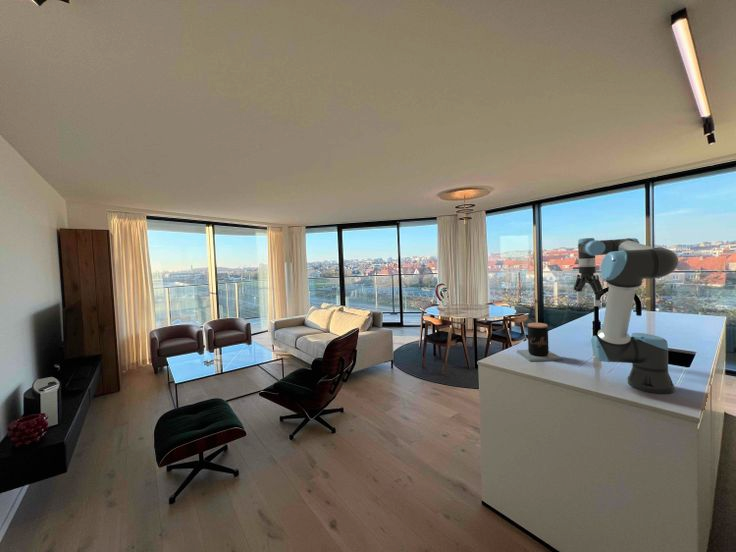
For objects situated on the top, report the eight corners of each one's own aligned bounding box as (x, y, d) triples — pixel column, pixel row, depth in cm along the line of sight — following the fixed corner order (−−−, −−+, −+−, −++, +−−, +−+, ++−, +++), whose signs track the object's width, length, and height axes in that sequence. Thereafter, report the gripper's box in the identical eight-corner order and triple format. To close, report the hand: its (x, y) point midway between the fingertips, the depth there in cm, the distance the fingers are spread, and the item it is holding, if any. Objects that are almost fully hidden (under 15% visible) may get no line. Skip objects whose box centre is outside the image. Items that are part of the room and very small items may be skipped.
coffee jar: (528, 355, 179) (527, 326, 179) (528, 350, 189) (527, 322, 188) (549, 357, 174) (548, 326, 174) (548, 352, 184) (547, 323, 183)
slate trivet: (562, 360, 172) (562, 358, 172) (530, 361, 174) (529, 359, 173) (546, 350, 190) (545, 348, 190) (516, 352, 191) (516, 350, 191)
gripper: (611, 265, 154) (612, 307, 155) (579, 265, 179) (580, 301, 180) (596, 266, 154) (597, 307, 155) (566, 266, 179) (567, 301, 180)
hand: (588, 304), depth 167 cm, fingers open, 13 cm apart
